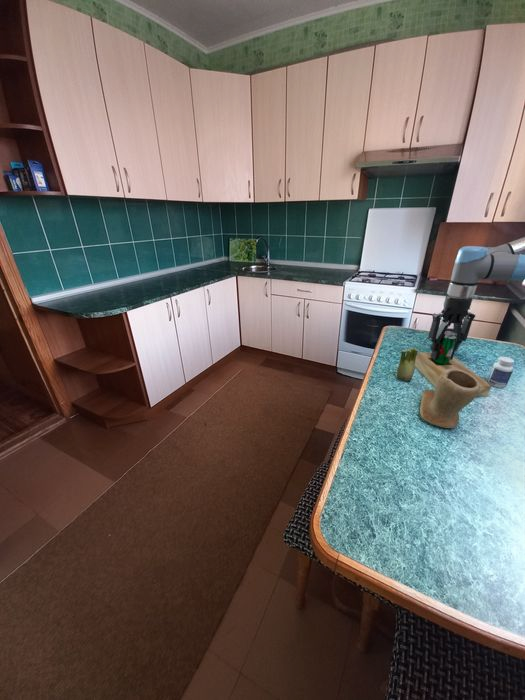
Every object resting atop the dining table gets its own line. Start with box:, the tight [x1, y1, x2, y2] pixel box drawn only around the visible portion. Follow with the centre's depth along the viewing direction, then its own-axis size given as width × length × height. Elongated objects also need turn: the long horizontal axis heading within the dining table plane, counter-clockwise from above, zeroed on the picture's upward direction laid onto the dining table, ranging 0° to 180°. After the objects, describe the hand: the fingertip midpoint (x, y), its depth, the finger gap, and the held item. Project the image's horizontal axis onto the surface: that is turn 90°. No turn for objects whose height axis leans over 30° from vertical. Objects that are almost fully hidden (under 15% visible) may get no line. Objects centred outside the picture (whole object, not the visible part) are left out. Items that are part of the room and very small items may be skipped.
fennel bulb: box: [396, 347, 419, 382], centre depth 101 cm, size 6×5×12 cm
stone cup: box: [419, 369, 480, 429], centre depth 83 cm, size 15×12×15 cm
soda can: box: [433, 331, 457, 365], centre depth 104 cm, size 5×5×12 cm
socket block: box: [415, 352, 492, 398], centre depth 103 cm, size 14×24×4 cm, turn 2°
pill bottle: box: [486, 356, 515, 389], centre depth 98 cm, size 5×5×10 cm
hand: (441, 358), depth 106 cm, fingers closed on soda can, 5 cm apart
